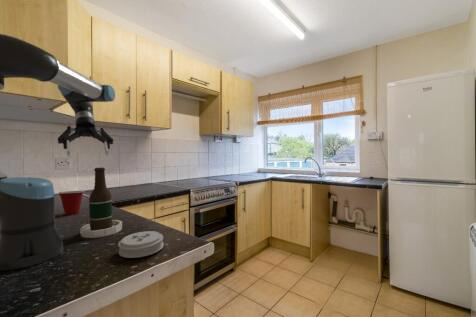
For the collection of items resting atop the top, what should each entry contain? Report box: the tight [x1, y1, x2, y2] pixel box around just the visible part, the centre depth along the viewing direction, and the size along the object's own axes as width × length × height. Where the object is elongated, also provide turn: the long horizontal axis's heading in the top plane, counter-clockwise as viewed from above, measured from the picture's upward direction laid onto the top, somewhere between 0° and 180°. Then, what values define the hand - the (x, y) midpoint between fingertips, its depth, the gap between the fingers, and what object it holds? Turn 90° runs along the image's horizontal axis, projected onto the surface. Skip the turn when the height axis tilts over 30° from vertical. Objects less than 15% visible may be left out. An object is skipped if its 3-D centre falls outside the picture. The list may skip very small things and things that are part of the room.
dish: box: [79, 219, 123, 239], centre depth 86 cm, size 14×14×2 cm
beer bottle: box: [88, 166, 114, 231], centre depth 86 cm, size 8×8×24 cm
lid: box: [117, 230, 164, 259], centre depth 68 cm, size 13×13×5 cm
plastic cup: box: [58, 190, 85, 216], centre depth 115 cm, size 11×11×12 cm
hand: (88, 153), depth 94 cm, fingers open, 13 cm apart
